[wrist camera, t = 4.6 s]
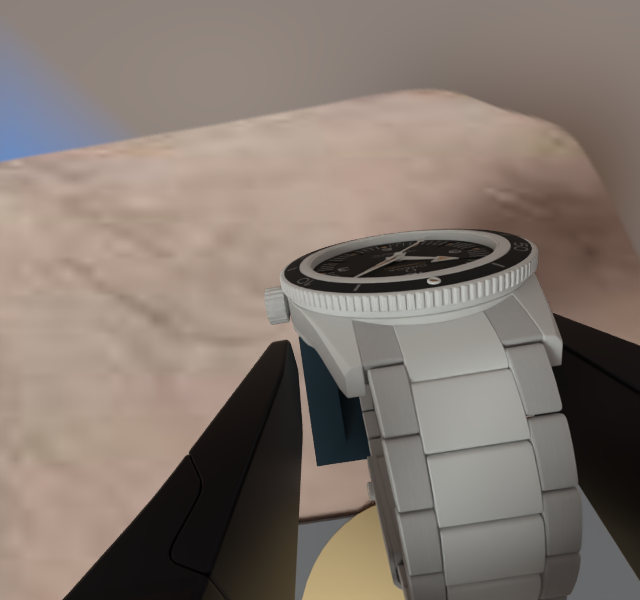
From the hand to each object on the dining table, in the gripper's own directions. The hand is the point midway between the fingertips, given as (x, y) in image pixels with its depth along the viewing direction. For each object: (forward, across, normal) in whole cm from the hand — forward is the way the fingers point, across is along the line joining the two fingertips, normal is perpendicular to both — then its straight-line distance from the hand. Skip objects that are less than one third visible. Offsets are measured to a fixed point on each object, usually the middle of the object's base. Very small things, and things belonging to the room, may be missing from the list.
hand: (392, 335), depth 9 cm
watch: (+5, 0, +6) cm, 8 cm away
